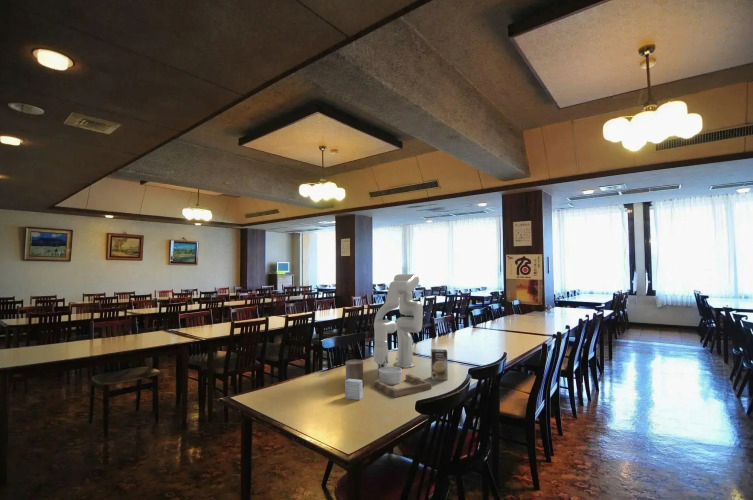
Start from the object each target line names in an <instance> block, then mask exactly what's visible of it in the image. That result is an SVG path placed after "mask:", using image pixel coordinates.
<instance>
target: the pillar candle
mask: <svg viewBox="0 0 753 500" xmlns="http://www.w3.org/2000/svg"><path fill="white" fill-rule="evenodd" d="M344 363H345V381H346V380H348V379H357V380H362V383H363V388H364V387H365V386H364V384H365V383H364V360H363V359H355V358H354V359H349V360H346V361H345V362H344Z"/></svg>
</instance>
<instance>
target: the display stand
mask: <svg viewBox="0 0 753 500" xmlns="http://www.w3.org/2000/svg"><path fill="white" fill-rule="evenodd" d="M405 380H406V381H408V382H410V383H412V384H414V385H410V386H405V387H400V388H394V387H392V386H390V385H387V384H384V383H382V382H381V381H380V380H378V379H375V380H373V382H374V383H373V386H374V387H375V388H377V389H379V390H380V391H383V392H384V393H386V394H389V395H390V396H391V397H394V398H399V397H403V396H407V395H411V394H416V393H420V392H424V391H429V390H432V382H430V381H427V380H424V379H422V378H419V377H417V376H415V375H413V374H410V373H405Z"/></svg>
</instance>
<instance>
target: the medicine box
mask: <svg viewBox="0 0 753 500" xmlns="http://www.w3.org/2000/svg"><path fill="white" fill-rule="evenodd" d="M363 385H364V383H362V380H357V379H348V380H346V379H345V381H344V397H345V398H344V399H345V400H355V401H361V400H362V399H363V397H364V394H363V391H364V389H363V388H364V387H363Z"/></svg>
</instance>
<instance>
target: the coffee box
mask: <svg viewBox="0 0 753 500" xmlns="http://www.w3.org/2000/svg"><path fill="white" fill-rule="evenodd" d="M430 358H431V359H430V362H431V364H430V365H431V368H430V369H431V370H430V372H431V373H430V374H431V376H430V377H431V380H432V381H448V379H449V377H448V376H449V375H448V371H449V370H448V367H449V365H448V350H447V349H441V348H439V349H436V348H433V349H432V348H431V350H430Z"/></svg>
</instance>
